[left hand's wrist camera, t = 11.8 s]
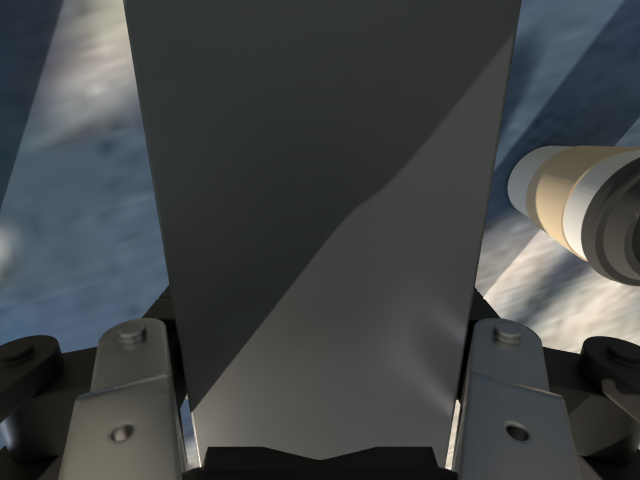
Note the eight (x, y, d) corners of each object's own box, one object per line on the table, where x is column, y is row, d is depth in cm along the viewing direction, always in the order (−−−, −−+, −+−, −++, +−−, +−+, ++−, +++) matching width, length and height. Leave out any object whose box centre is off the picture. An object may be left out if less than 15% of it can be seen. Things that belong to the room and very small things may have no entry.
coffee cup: (608, 188, 36) (795, 244, 22) (523, 243, 38) (644, 327, 24) (566, 111, 33) (745, 117, 19) (478, 174, 35) (582, 222, 21)
